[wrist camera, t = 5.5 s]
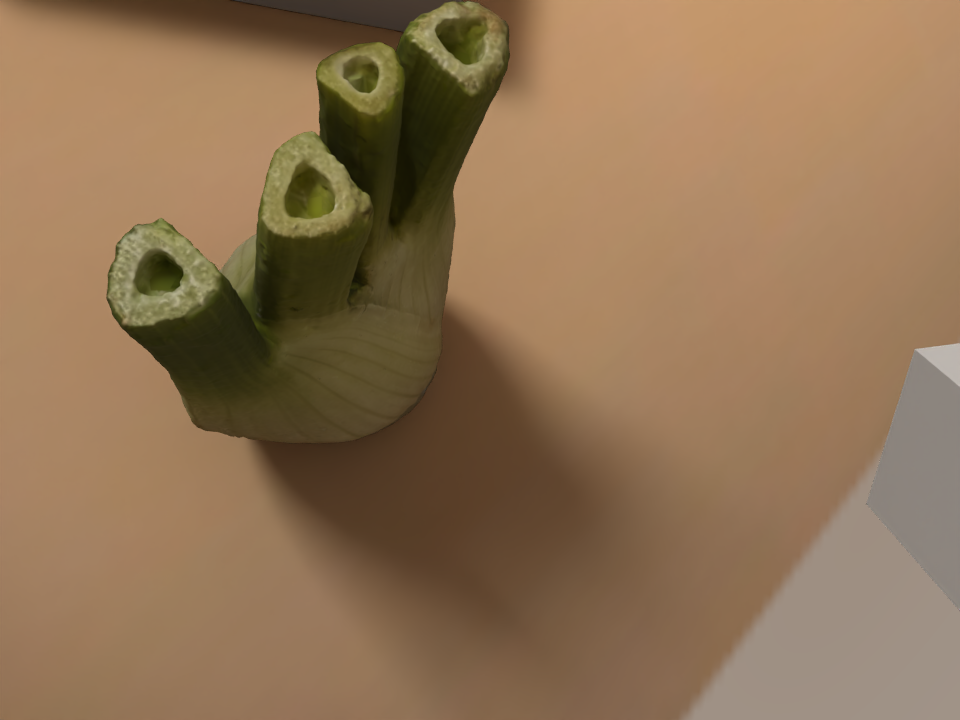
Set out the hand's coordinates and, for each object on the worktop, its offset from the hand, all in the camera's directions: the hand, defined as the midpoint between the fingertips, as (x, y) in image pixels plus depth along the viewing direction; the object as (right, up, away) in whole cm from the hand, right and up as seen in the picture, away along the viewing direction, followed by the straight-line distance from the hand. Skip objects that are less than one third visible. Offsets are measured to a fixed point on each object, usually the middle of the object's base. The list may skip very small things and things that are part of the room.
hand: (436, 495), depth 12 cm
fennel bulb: (-3, +2, +10) cm, 11 cm away
